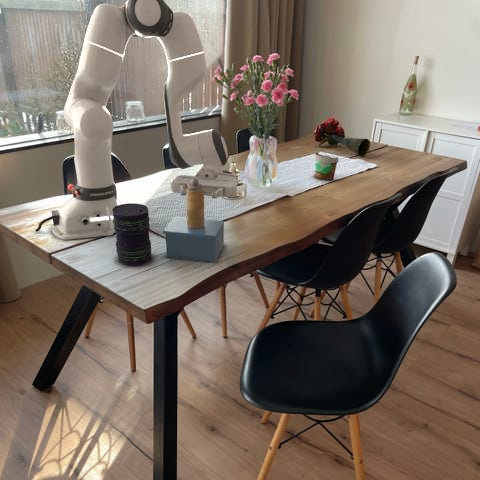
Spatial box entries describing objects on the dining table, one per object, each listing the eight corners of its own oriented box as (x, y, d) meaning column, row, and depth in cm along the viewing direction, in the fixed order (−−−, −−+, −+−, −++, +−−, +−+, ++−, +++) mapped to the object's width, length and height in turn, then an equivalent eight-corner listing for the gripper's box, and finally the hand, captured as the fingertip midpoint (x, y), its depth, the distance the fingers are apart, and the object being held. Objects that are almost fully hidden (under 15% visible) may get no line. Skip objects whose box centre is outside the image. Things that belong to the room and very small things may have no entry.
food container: (305, 176, 218) (308, 153, 213) (314, 174, 222) (317, 151, 216) (326, 183, 211) (329, 159, 205) (335, 180, 214) (339, 157, 209)
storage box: (166, 257, 142) (165, 233, 139) (178, 241, 153) (177, 219, 149) (215, 262, 141) (215, 238, 137) (223, 245, 151) (224, 223, 147)
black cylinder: (112, 264, 137) (106, 213, 129) (124, 250, 145) (119, 201, 137) (146, 267, 136) (142, 217, 128) (156, 253, 144) (153, 204, 136)
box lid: (162, 233, 139) (162, 230, 138) (174, 218, 149) (174, 216, 148) (215, 238, 137) (215, 235, 136) (224, 223, 147) (224, 220, 146)
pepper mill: (191, 230, 139) (190, 182, 132) (184, 224, 143) (182, 177, 136) (207, 227, 142) (207, 180, 134) (199, 221, 145) (198, 175, 138)
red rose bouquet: (361, 171, 257) (314, 153, 278) (383, 144, 257) (334, 128, 279) (353, 150, 244) (304, 133, 266) (376, 123, 245) (325, 108, 267)
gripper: (176, 168, 152) (163, 180, 141) (240, 173, 150) (232, 186, 138) (177, 188, 156) (164, 201, 144) (240, 193, 153) (232, 207, 141)
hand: (198, 194), depth 141 cm, fingers open, 8 cm apart
